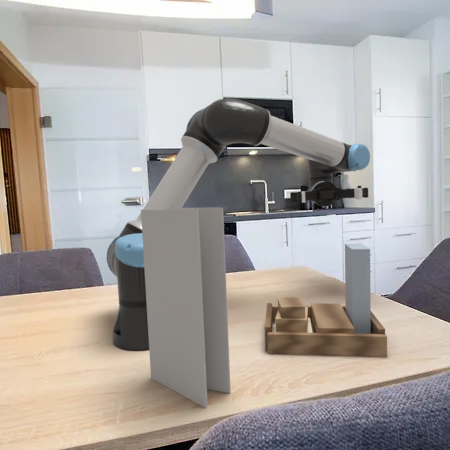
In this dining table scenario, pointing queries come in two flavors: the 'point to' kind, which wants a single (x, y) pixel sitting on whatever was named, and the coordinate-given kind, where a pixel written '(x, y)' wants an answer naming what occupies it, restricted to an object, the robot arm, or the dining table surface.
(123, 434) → the dining table surface
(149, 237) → the brochure
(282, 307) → the offcut top
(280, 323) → the plate
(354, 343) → the tray
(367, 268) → the grey rectangular block
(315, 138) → the robot arm
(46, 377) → the dining table surface
